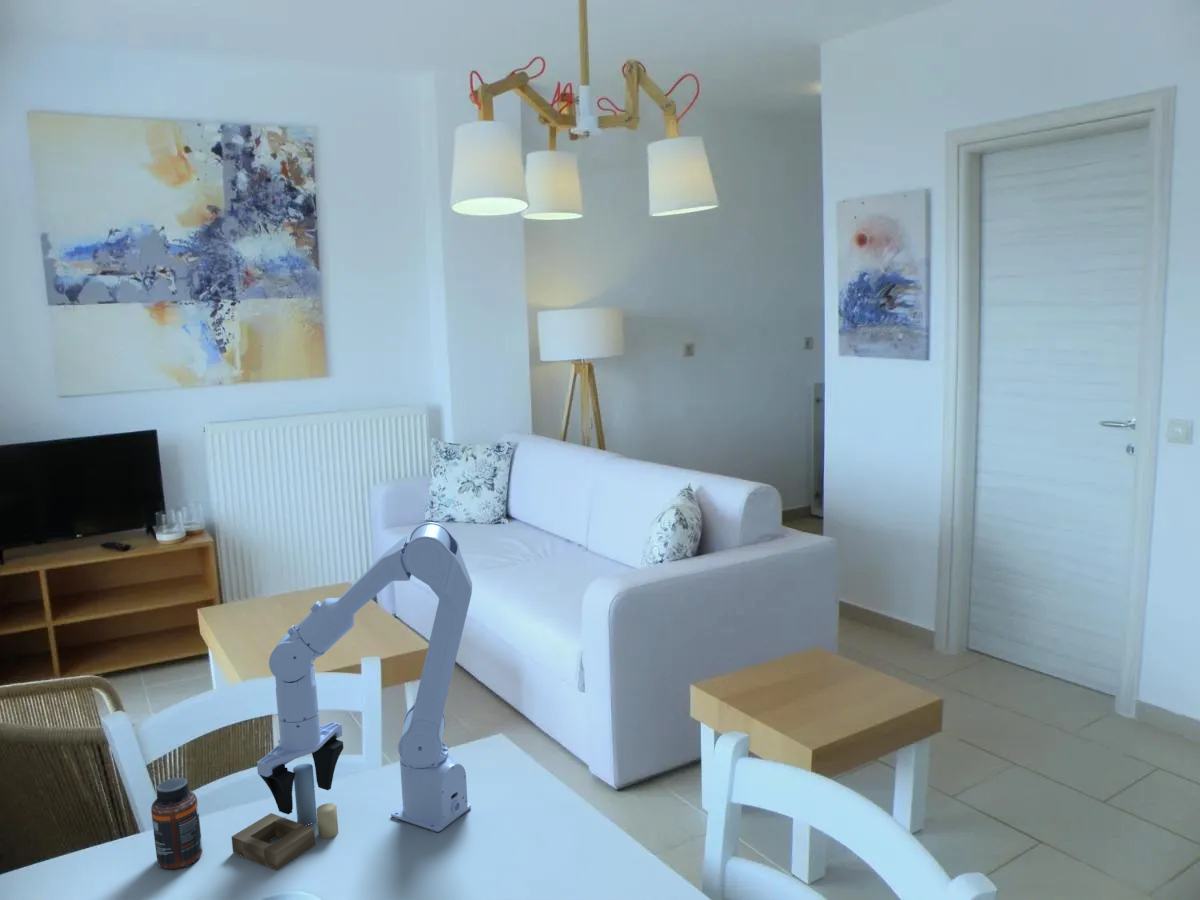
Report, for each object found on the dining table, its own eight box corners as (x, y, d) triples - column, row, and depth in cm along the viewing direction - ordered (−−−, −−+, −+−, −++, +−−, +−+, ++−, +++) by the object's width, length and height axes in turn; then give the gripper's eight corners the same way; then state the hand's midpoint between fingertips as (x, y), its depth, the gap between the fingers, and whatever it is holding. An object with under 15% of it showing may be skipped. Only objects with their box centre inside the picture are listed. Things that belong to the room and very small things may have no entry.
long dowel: (321, 818, 142) (316, 766, 141) (306, 827, 140) (302, 774, 139) (307, 814, 144) (303, 761, 142) (293, 822, 141) (289, 770, 140)
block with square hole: (315, 844, 135) (314, 828, 135) (276, 870, 130) (275, 853, 129) (272, 828, 140) (271, 812, 140) (233, 852, 134) (231, 836, 134)
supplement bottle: (211, 847, 136) (203, 773, 134) (189, 872, 130) (181, 795, 128) (171, 846, 136) (163, 772, 134) (148, 870, 130) (139, 794, 129)
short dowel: (342, 831, 139) (340, 806, 138) (328, 840, 136) (326, 815, 136) (328, 826, 140) (326, 801, 140) (314, 835, 138) (312, 810, 137)
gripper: (316, 691, 147) (322, 772, 150) (239, 728, 135) (247, 816, 137) (349, 699, 144) (355, 782, 146) (273, 738, 131) (281, 828, 134)
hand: (305, 799), depth 141 cm, fingers open, 7 cm apart
